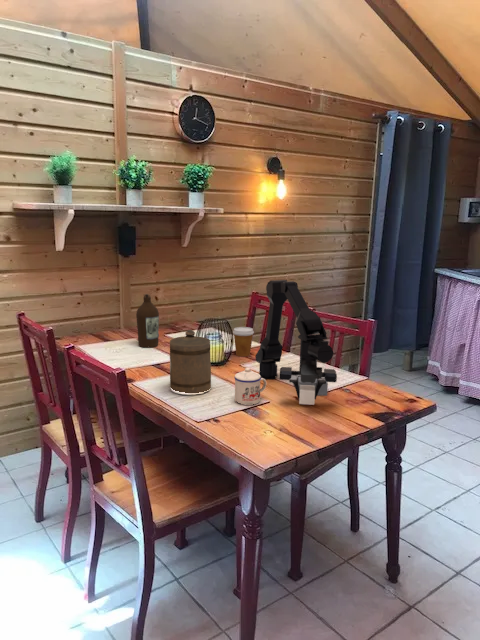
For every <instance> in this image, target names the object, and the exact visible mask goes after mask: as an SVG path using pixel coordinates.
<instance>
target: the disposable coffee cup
mask: <svg viewBox="0 0 480 640" xmlns="http://www.w3.org/2000/svg"><path fill="white" fill-rule="evenodd" d="M232 333H233V339H234V345H235V346H234V347H235V356H237V357H241V358H242V357H243V358H245V357H249V356H251V350H252V344H253V343H252V342H253V335H254V333H255V331H254V328H252V327H249V326H248V327H247V326H238V327H237V326H236V327H234V328H233V331H232Z"/></svg>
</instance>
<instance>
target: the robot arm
mask: <svg viewBox="0 0 480 640" xmlns="http://www.w3.org/2000/svg"><path fill="white" fill-rule="evenodd" d="M265 290H266V297H267V299H268V301H269V308H268V316H267V317H268V318H267V323H266V324H267V325H266V334H265V337H264V338H263V339H262V341H261V342H260V345H259V349H258V351H257V352H256V354H255V356H254V357H255V362H257V363H258V364H259V372H258V374H260V376H261V378H264V379H265V380H267V379H268V380H275V379H276V378H277V377H278V364H277V363H278V362H279V363H280V362H281V359H282V355H283V345H282V344H281V342H280V340H279V339H280V338H279V337H280V330H281V324H282V323H281V322H282V315H283V314H282V313H283V307H284V304H285V303H286V301H288V303H289V305H290V307H291V309H292V311H293V312H294V314H295V316H296V320H295V325H296V327H297V330H298V332H299V335H298V336H297V337H298V339H299V340H300V347H299V348H300V349H299V350H300V351H299V368H298V369H299V370H292V369H293V367H289V366H281V367H280V369H279V380H281V381H289V383H292V385H293V387H294V389H295V391H296V395H297V398H298V400H299V396H300V392H299V381H298V377H301V382H311V383H315V382H316V387H315V400H317V396H318V395H317V394H318V392H319V390H320V388H321V386H322V385H323V384H326V381H327V382H328V383H337V381H338V380H337V379H338V376H337V375H338V374H337V372H336V371H337V370H335V368H333V369H331V368H324V370H323V366H322V367H320V366H318V361H319V362H321V363H323V364H325V363H328V362H330V361H331V360H332V359H333V357H334V350H333V348H332V346H331V345H329V341H328V337H327V336H328V335H327V332H326V329H325V327H324V324H323V321H322V320H321V318H320V317H319V315H318V313H316V312H314V311H313V310H312V309H311V308H310V307H309V305H308V304H307V302H306V300H305V298H304V297H303V295H302V293H301V291H300V289H299V286H298V283H297V282H296V281H294V280H293V281H288V280H287V279H278V280H277V279H276V280H275V279H274V280H273V279H272V280H269V281H268V282H267V283H266V285H265ZM316 379H317V380H316Z"/></svg>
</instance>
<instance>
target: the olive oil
mask: <svg viewBox="0 0 480 640" xmlns="http://www.w3.org/2000/svg"><path fill="white" fill-rule="evenodd" d="M135 314H136V325H137V339H138V347H141V348H143V349H144V348H146V349H148V348H149V349H151V348H156V347H158V346H159V336H160V335H159V327H160V326H159V325H160V324H159V322H160V321H159V320H160V312H159V309H158V308H157V307H156V306H155V305H154V304H153V303H152V297H151V293H144V294H143V302H142V304H140V306H139V307H138V308H137V311H136V313H135Z"/></svg>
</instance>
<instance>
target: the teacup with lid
mask: <svg viewBox="0 0 480 640" xmlns="http://www.w3.org/2000/svg"><path fill="white" fill-rule="evenodd" d="M262 381H263V384H262V387H261V382H262ZM266 387H267V379H264V378H261V376H260V374H259V372H255V371H253V370H252V369H251V367H245V368H244V370H242V371H240V372H237V373H235V375H234V402H236V401H237V402H238V403H241V404H240V405H242V404H247V405H246V406H253V404H254V405H256V404H258V403H260V401H261V393H262V392H264V391H265V390H266ZM237 402H236V403H237ZM238 403H237V404H238Z"/></svg>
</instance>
